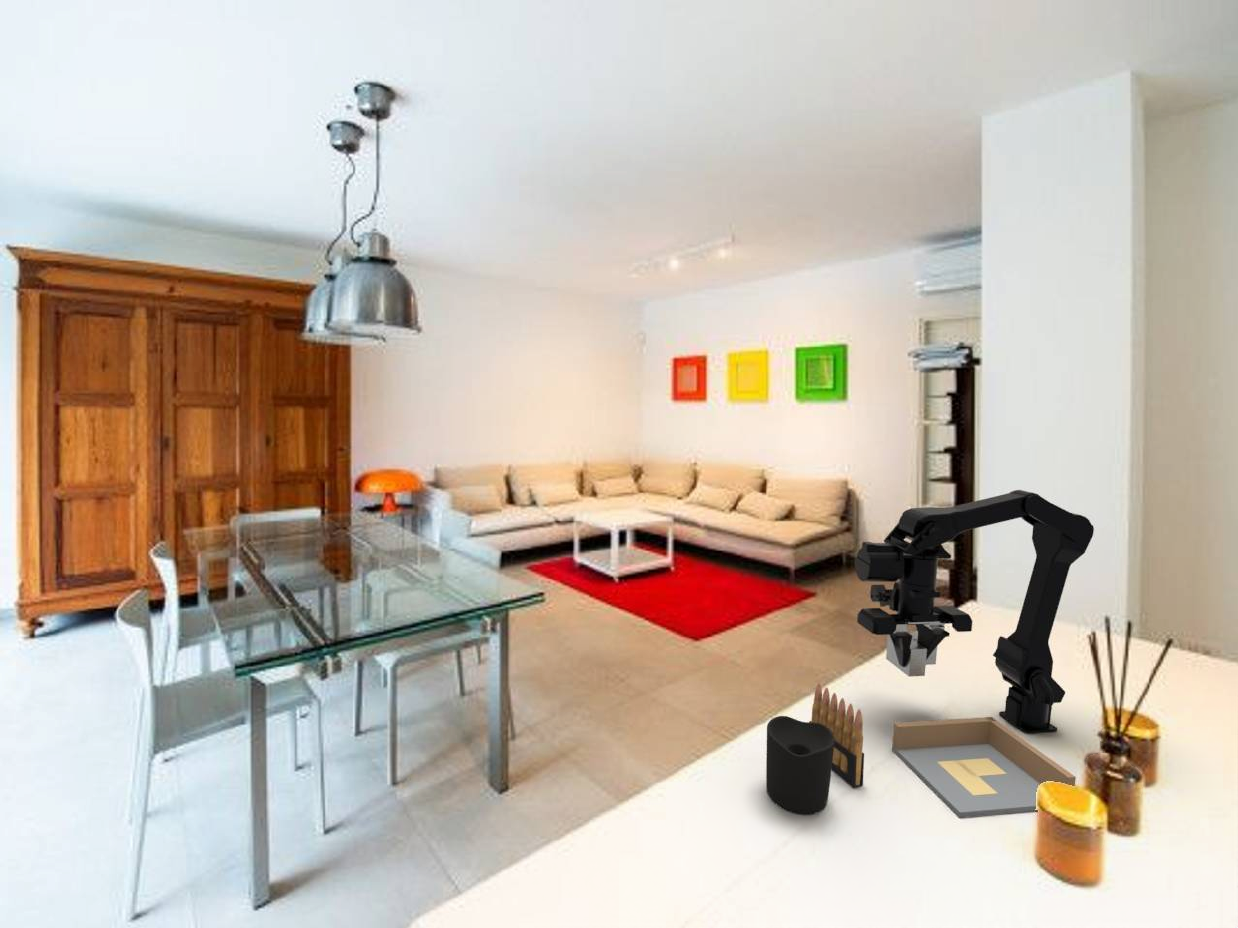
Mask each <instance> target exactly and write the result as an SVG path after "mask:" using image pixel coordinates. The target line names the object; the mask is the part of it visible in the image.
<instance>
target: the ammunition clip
mask: <svg viewBox="0 0 1238 928" xmlns="http://www.w3.org/2000/svg"><path fill="white" fill-rule="evenodd" d="M863 721H864V720H863V714H862V711H861V709H860V708H858V710H857V711H856V713H855V712H854V706H853V703H849V704H848V707H847V709H846V701H845V699H844V697H841V698H840V700H839V703H838V696H837V694H836V692H833V694H832V695H831V698H830V691H829V688H828V687H825V689H824V690H823V689H822V684H821V682H817V684H816V686H815V690H814V697H813V704H812V708H811V719H810V720H809V721H808V722H815V723H820V724H823V725H825V726H826V727H828V728H829V729H830V730H831V731H832V733H833V735H834V737H835V742H834V751H833V760H832V769H831V772H833V773H835V774H836V775H837V776H838V777H839V778H841V779H842V780H843V781H844V782H846V783H847V784H848V785H849V786H850V787H851V788H854V789H855V788H859V787H861V786H863V785H864V769H865V768H864V765H865V753H864V752H863V747H864V746H863V745H864V735H863V734H864V733H863V730H864V729H863V727H864V726H863V723H864V722H863Z"/></svg>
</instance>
